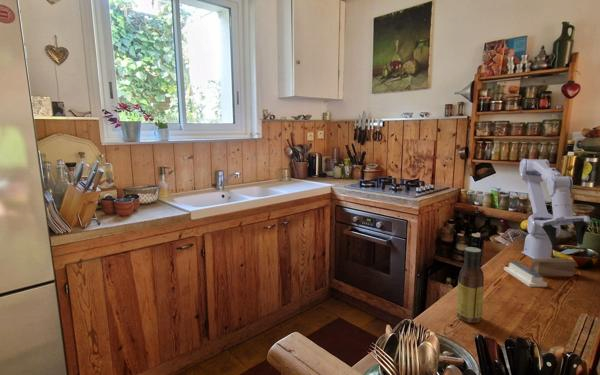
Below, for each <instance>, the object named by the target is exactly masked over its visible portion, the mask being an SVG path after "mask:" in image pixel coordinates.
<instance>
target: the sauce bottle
mask: <svg viewBox="0 0 600 375" xmlns="http://www.w3.org/2000/svg"><path fill="white" fill-rule="evenodd" d="M463 250H464V251H463V253H464V261H463V266H462V267H461V269H460V271H459V273H458V274H459V275H458V278H457V279H458V280H457V296H456V297H457V299H456V300H457V301H456V312H457V317H458V318H459V319H460V320H461V321H463V322H465V323H470V324H478V323H480V322H481V321H482V316H483V307H484V306H483V304H484V291H485V290H484V289H485V284H484V279H485V276H484V275H485V274H484V271H483V269H482V267H481V256H482V249H481V248H478V247H473V246H467V247H465V248H464V249H463Z"/></svg>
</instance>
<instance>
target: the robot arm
mask: <svg viewBox="0 0 600 375" xmlns="http://www.w3.org/2000/svg"><path fill="white" fill-rule="evenodd" d="M518 169H519V170H518V171H519V174H520V178H521V180H523V181H524V182H525V185H526V188H527V192H528V197H529V200H530V201H529V202H530V206H531V209H532V214H531V215H529V216H528V218H527V220H526V223H527V226H526V229H527V232H528V234H527V235H526V236H525V238H524V246H523V250H522V251H521V254H523V255H525V256H527V257H529V258H530V259H532V258H553V257H552V252H553V247H558V246H557V245H558V244H557V243H558V241H557V237H558V236H559V235H560V233H561V226H563V225H564V226H566V225H573V228H574V230H575V231H574V232H575V237H576V242H577V244H578V245H580V246H581V245H584V244H583V243H584V237H585V235H586V232H587V230H588V228H589V223H591V218H590V216H589V215H580V216H574V210H573V203H572V195H571V191H572V189H573V186H574V183H573V182H574V181H573V178H572V177H571V176H570V175H566V176H564V175H563V174H562V173H560V171H558V170H557V168H556V167H551V165H550V161H549V160H548V159H547V158H545V159H541V158H540V159H532V158H531V159H530V158H522V159H521V160H520V162H519V167H518ZM542 182H545V184H546V190H547V191H548V196H549V197H551V205H552V206H551V207H552V214H551V213H549V211H548V209H547V205H546V201H545V197H544V194H543V189H542V185H541V183H542Z"/></svg>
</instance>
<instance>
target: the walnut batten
mask: <svg viewBox="0 0 600 375" xmlns="http://www.w3.org/2000/svg"><path fill="white" fill-rule="evenodd" d="M575 267H576V261H574V260H572V259H571V258H568V257H567V258H566V257H565V258H564V257H561V258H560V257H559V258H557V257H552V258H531V267H530V269H531V270H533V271H534V272H536V273H538V274H539V275H541V276H542V277H574V272H575Z"/></svg>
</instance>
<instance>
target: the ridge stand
mask: <svg viewBox="0 0 600 375" xmlns="http://www.w3.org/2000/svg"><path fill="white" fill-rule="evenodd" d="M503 270H504V271H506V272H507V273H508V274H510V275H511V276H513V277H514V278H515V279H517V280H518V281H520V282H522V284H524V285H526V286H528V287H530V288H531V287H533V288H534V287H536V288H541V287H543V288H545V287H547V288H548V283H547V282H545V281H544V280H543V276H541V275H539V274H538V273H536V272H534V271H533V270H531V268H529V267H528V266H526V265H524V264H523V263H521V262H520V261H518V260H510V262H509V264H508V266H503Z"/></svg>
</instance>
